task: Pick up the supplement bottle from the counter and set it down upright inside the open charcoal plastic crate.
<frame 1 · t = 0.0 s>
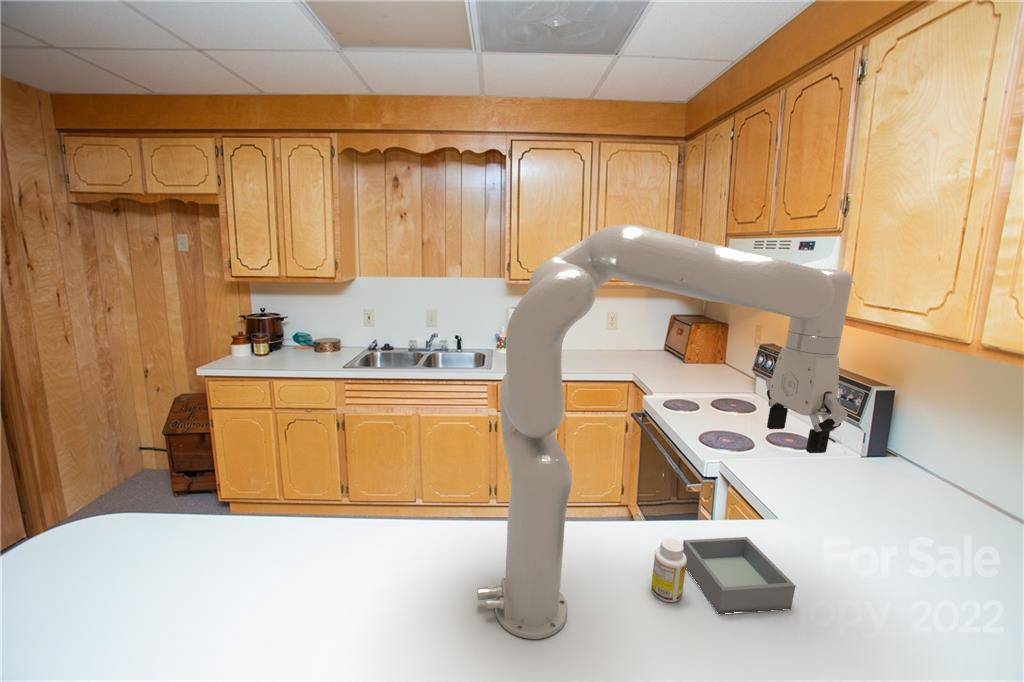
hand: (794, 439, 82), 31 cm above the countertop, tool pointing down, fingers open, 9 cm apart
crate: (732, 584, 91), on the countertop
supplement bottle: (665, 593, 88), on the countertop
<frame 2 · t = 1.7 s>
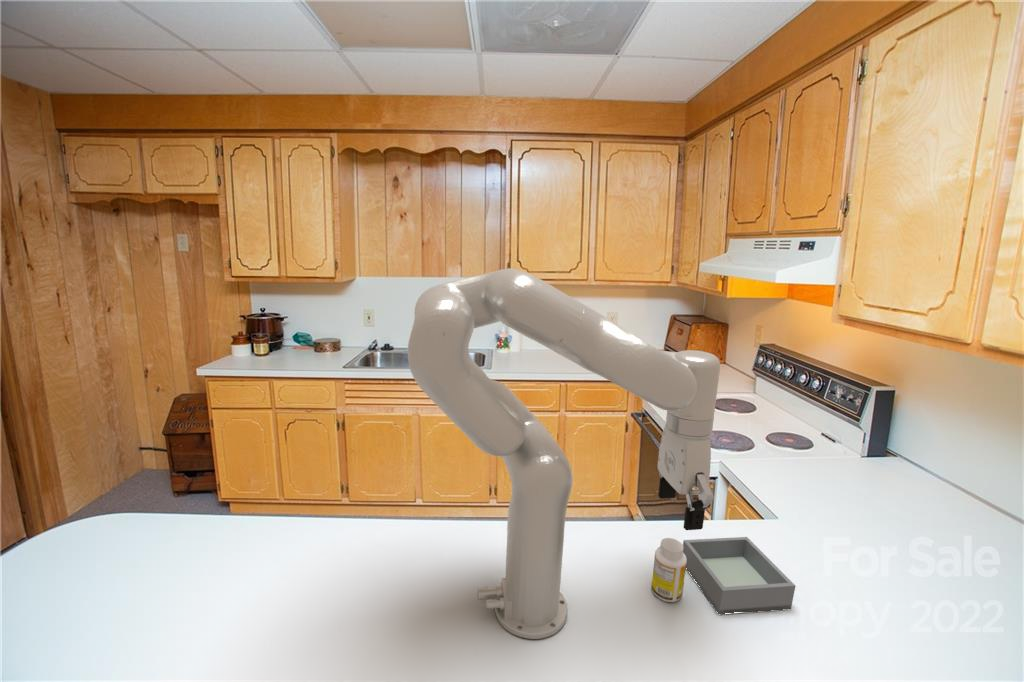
hand: (679, 512, 84), 17 cm above the countertop, tool pointing down, fingers open, 9 cm apart
nothing on the countertop moved.
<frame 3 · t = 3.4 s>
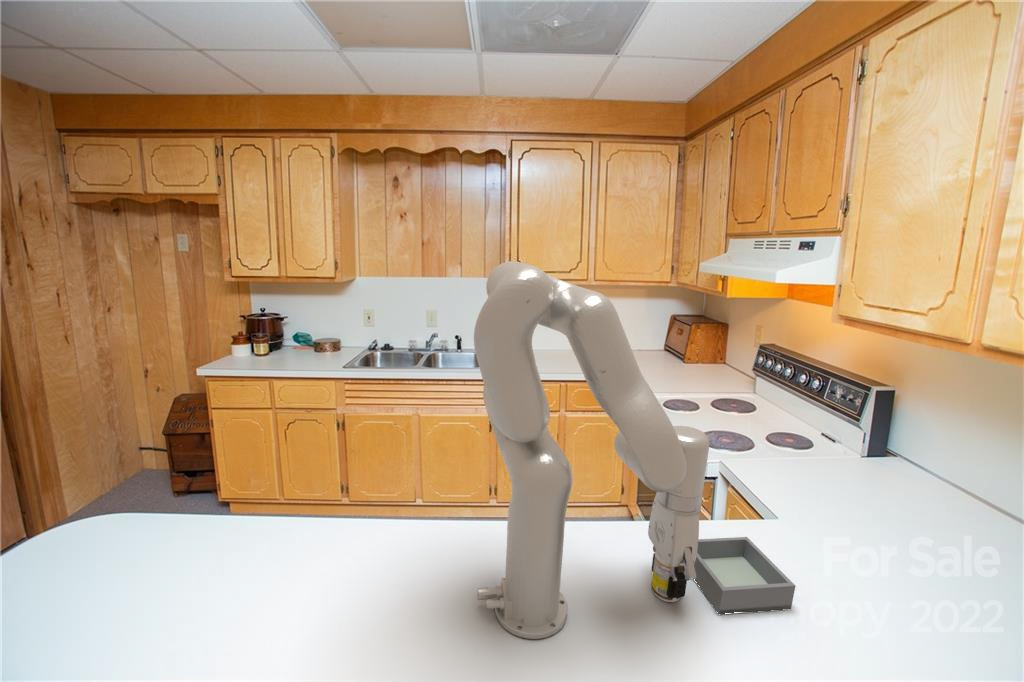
hand: (667, 583, 87), 2 cm above the countertop, tool pointing down, fingers closed on supplement bottle, 5 cm apart
supplement bottle: (666, 593, 88), on the countertop, touching gripper
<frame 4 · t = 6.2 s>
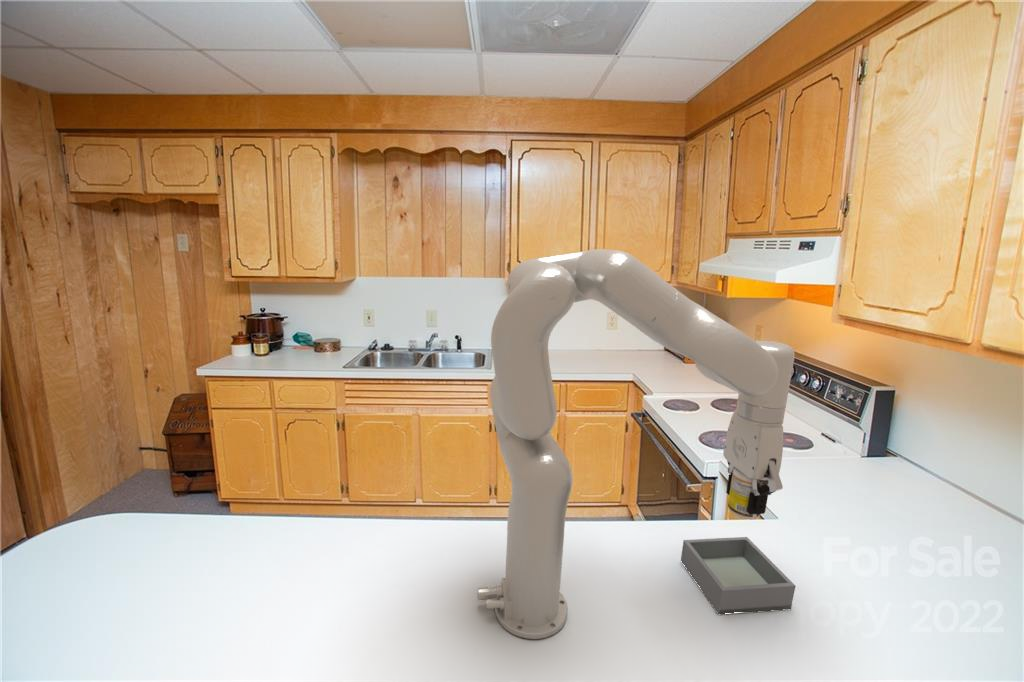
hand: (744, 502, 87), 17 cm above the countertop, tool pointing down, fingers closed on supplement bottle, 5 cm apart
supplement bottle: (743, 513, 87), point 15 cm above the countertop, touching gripper
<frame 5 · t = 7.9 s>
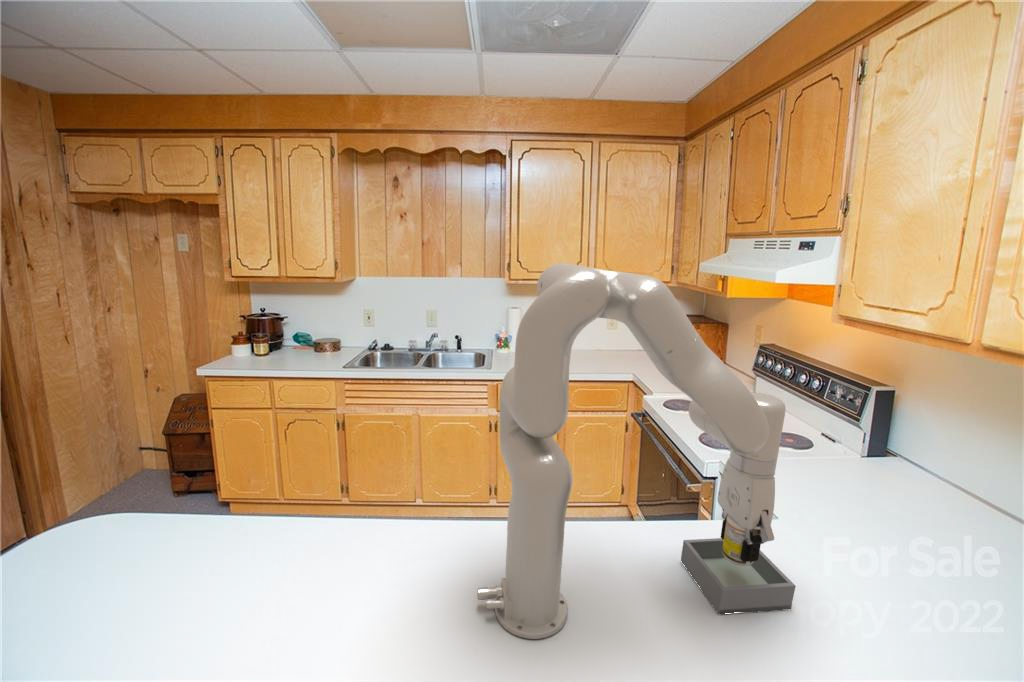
hand: (738, 548, 89), 8 cm above the countertop, tool pointing down, fingers closed on supplement bottle, 5 cm apart
supplement bottle: (737, 558, 89), point 6 cm above the countertop, touching gripper
when the fingers open (4 cm above the countertop, at t = 9.0 s): supplement bottle drops 1 cm, resting on crate.
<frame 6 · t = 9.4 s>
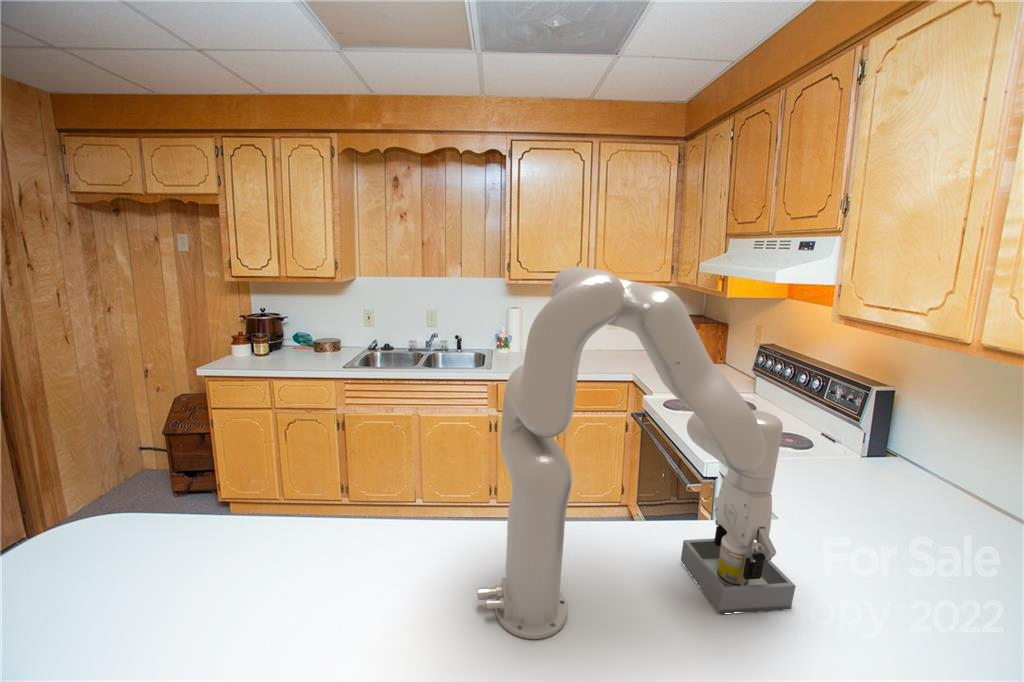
hand: (736, 560, 89), 5 cm above the countertop, tool pointing down, fingers open, 9 cm apart
supplement bottle: (731, 580, 90), point 1 cm above the countertop, touching crate
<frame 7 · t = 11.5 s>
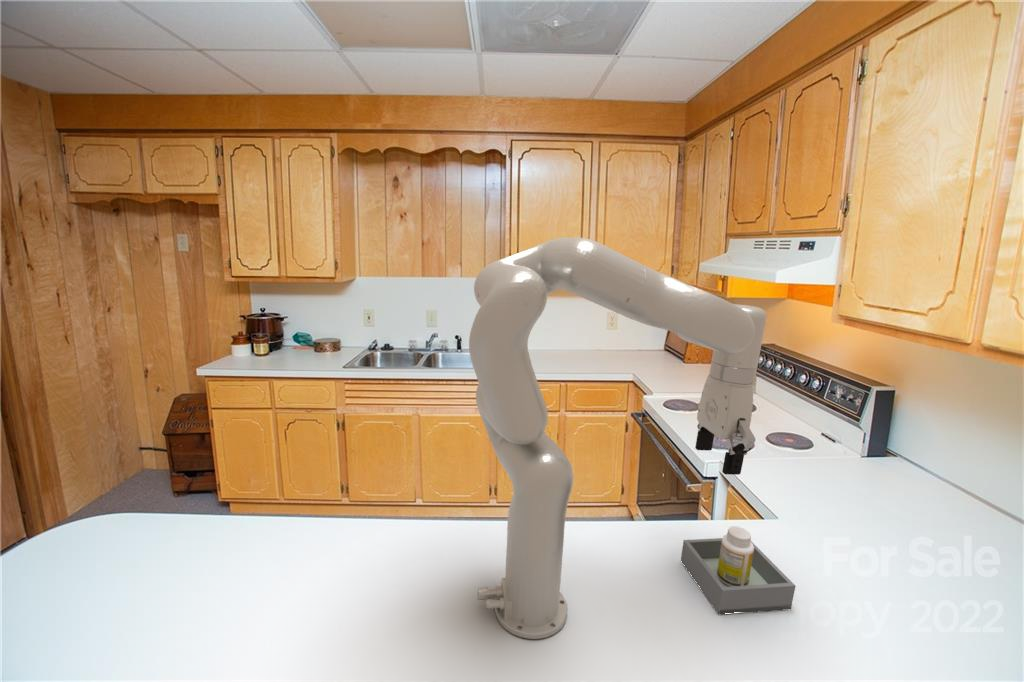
hand: (716, 461, 88), 24 cm above the countertop, tool pointing down, fingers open, 9 cm apart
nothing on the countertop moved.
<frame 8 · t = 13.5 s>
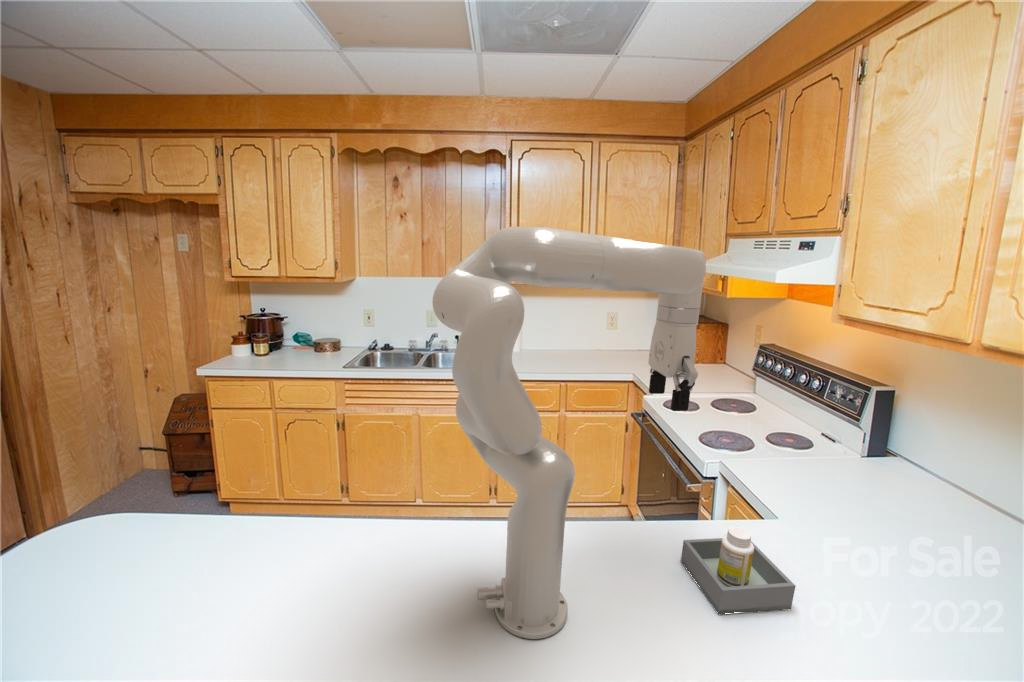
hand: (667, 401, 92), 33 cm above the countertop, tool pointing down, fingers open, 9 cm apart
nothing on the countertop moved.
at the end: supplement bottle inside the target area on the crate (0.2 cm from its centre), point 0.8 cm above the crate's base; supplement bottle tilted 0°; the gripper is holding nothing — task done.
